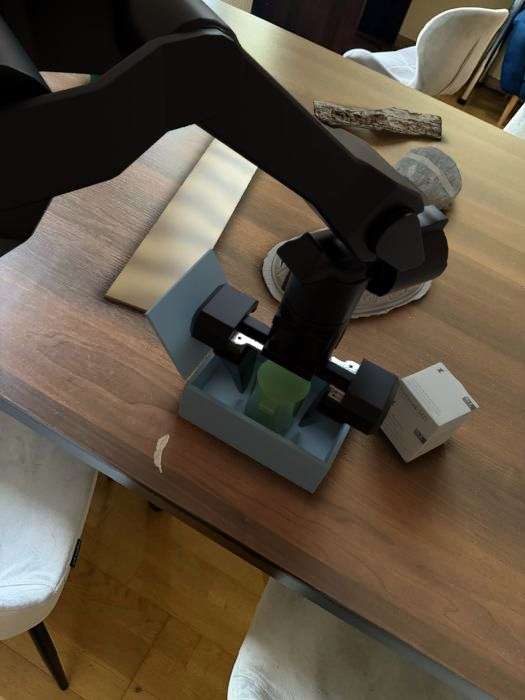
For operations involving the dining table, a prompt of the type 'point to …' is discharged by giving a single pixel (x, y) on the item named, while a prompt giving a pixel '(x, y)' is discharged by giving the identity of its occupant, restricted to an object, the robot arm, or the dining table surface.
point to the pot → (276, 397)
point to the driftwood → (380, 119)
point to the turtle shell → (367, 302)
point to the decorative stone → (431, 175)
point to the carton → (253, 438)
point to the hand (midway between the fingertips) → (272, 406)
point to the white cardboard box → (427, 411)
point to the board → (185, 227)
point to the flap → (186, 313)
